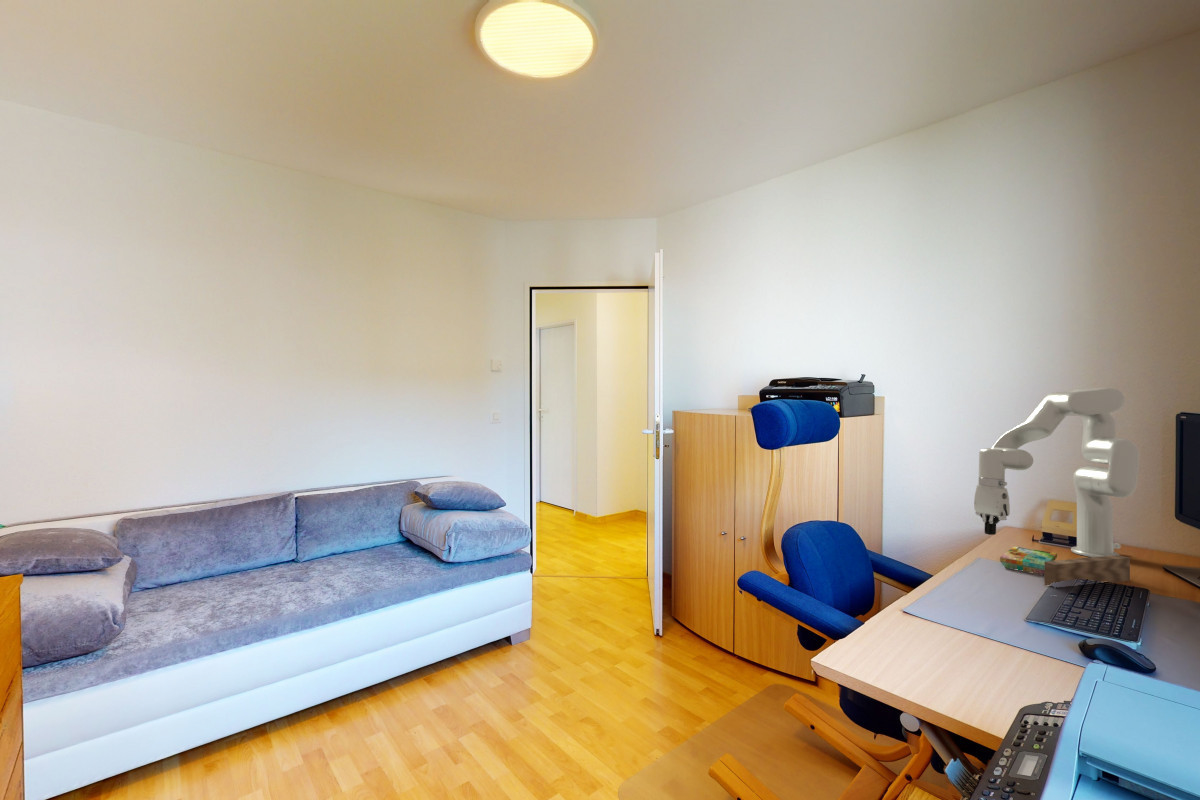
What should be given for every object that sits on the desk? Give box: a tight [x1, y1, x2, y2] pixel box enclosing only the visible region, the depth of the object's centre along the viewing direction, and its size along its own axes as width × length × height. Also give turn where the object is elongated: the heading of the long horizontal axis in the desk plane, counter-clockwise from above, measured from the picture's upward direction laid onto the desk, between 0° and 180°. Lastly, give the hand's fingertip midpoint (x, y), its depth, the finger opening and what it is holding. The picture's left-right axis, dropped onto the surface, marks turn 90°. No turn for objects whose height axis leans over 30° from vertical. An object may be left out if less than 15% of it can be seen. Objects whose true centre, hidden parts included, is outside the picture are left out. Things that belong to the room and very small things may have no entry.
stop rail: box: [1043, 554, 1131, 586], centre depth 159 cm, size 30×3×7 cm, turn 104°
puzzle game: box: [999, 545, 1058, 575], centre depth 175 cm, size 12×5×20 cm
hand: (990, 533), depth 188 cm, fingers closed
